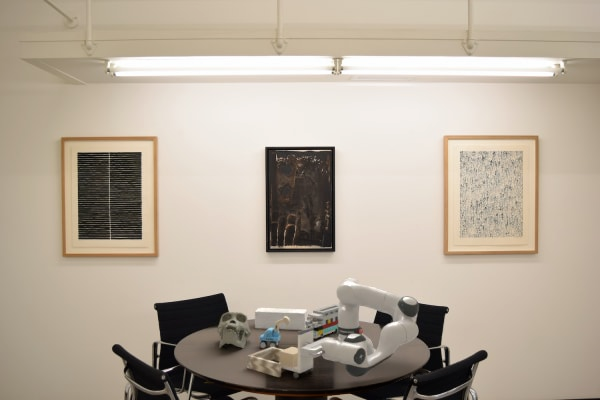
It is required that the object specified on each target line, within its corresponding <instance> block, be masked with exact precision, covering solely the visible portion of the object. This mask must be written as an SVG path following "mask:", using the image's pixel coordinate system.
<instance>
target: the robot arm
mask: <svg viewBox="0 0 600 400" xmlns="http://www.w3.org/2000/svg"><path fill="white" fill-rule="evenodd" d="M336 297H337V299H338V300H339V301H338V302H339V304H338V305H339V310H338V327H337V333H336V335H337V337H336V338H335V337H328V336H327V337H323V338H321V339H318V340H317V341H313V342H306V343H304V347H302V348H301V355H302V356H305V357H311V358H313V359H315V358H317V357H320V356H322V358H323V359H325V360H328V361H332V362H339V363H341V364H344V365H345V370H346V372H347V373H348V374H349V375H350V376H352V377H357V378H358V377H362V376H364V375H365V374H367V373H368V372H369V371H370V370H372V369H373V368H375V367H376V366H378V365H380V364H381V363H383V362H385V361H387V360H388V359H390V358H391V357H392V356H393V354H394V352H395V351H396V350H397V349H398V348H399V347H400V346H402V345H405V344H408V343H410V342H411V341H413V340H414V339H416V338H417V336H418V335H419V327H418V325H417V317H418V313H419V310H420V309H419V308H420V304H419V302H418V300H417V299H415V298H414V297H413V296H406V295H405V296H402V297H401V296H399V295H397V294H395V293H392V292H390V291H386V290H383V289H380V288H377V287H374V286H369V285H364V284H360V281H358V280H357V279H356V278H353V277H348V278H345V279H343V280H342V281H341V282H340V284H339V285H338V286H337V288H336ZM360 307H365V308H369V309H372V310H373V311H374V310H375V311H378V312H381V313H385V314H388V315H390V316H391V318H392V319H391V320H390V323H387V324H386V325H384V326H383V327H382V328H381V331H380V334H379V340H378V344H377V347H376V348H374V344H373V342H372V340H371V339H370V338H369V337H368V336H367V335H365V334H364V328H363V326H361V325H360Z"/></svg>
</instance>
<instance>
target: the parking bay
mask: <svg viewBox="0 0 600 400" xmlns="http://www.w3.org/2000/svg"><path fill="white" fill-rule="evenodd" d="M282 350H284V349H283V348H278V347H276V348H275V347H266V348H263V349H262V350H259V351H256V352H254V353H251V354H248V355H247V357H246V358H247V366H246V368H247V369H250V370H253V371H256V372H260V373H263V374H266V375H270V376H273V377H277V378H282V373H281V363H279V362H280V351H282Z"/></svg>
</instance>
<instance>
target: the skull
mask: <svg viewBox="0 0 600 400" xmlns="http://www.w3.org/2000/svg"><path fill="white" fill-rule="evenodd" d="M217 333H218V335H219V337H220V339H219V340H220V341H219V349H222V347H223V346H224V345H225V344H227V345H229V344H231V345H233V346H235V347H238V348H241V349H244V348H245V347H246V343H247V340H248V339H249V337H250V336H251V335H252V332H251V330H250V324H249V322H248V315H247V314H244V313H242V312H239V311H235V312H233V311H228V312H225V313H223V314H222V315H221V317H220V319H219V324H218V326H217Z"/></svg>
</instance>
